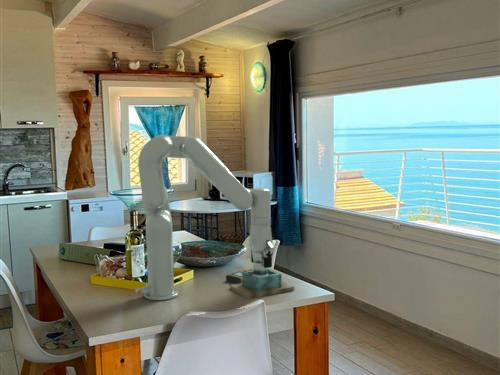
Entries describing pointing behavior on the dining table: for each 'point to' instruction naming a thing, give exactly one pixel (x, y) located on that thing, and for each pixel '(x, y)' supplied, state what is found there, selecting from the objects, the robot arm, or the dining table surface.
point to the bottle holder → (261, 285)
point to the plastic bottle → (258, 263)
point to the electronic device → (236, 276)
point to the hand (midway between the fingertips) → (261, 264)
